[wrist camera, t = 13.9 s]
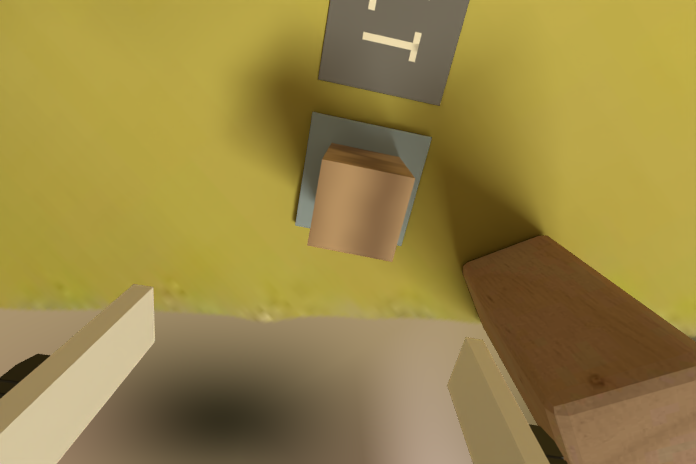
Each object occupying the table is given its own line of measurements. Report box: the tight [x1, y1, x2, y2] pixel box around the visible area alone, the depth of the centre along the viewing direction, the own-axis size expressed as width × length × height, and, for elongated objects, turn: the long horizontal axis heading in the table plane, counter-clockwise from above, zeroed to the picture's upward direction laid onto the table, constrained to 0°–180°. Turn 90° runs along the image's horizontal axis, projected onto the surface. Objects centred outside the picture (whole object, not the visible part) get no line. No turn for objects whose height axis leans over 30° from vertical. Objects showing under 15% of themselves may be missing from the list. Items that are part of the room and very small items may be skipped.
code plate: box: [318, 0, 469, 106], centre depth 31 cm, size 12×12×1 cm
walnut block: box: [308, 143, 415, 262], centre depth 31 cm, size 7×7×10 cm
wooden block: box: [463, 235, 696, 464], centre depth 31 cm, size 10×10×20 cm
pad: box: [295, 112, 432, 246], centre depth 36 cm, size 12×12×1 cm
